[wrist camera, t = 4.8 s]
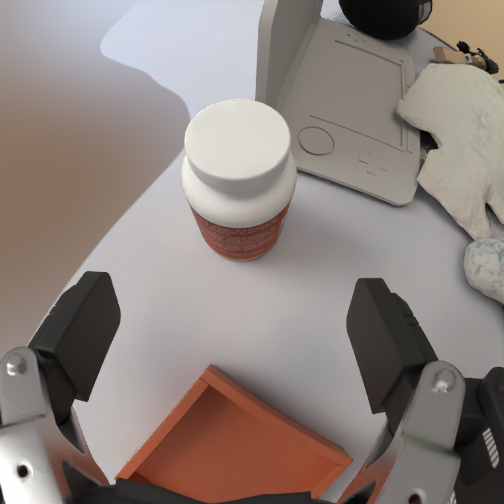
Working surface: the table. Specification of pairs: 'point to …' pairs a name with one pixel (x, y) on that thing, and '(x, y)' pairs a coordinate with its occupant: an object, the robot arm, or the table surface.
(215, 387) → the red tray
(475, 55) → the toy figure
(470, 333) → the table surface
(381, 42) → the game console
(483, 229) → the grey flat irregular slab
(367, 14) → the container
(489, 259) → the decorative stone
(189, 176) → the pill bottle
